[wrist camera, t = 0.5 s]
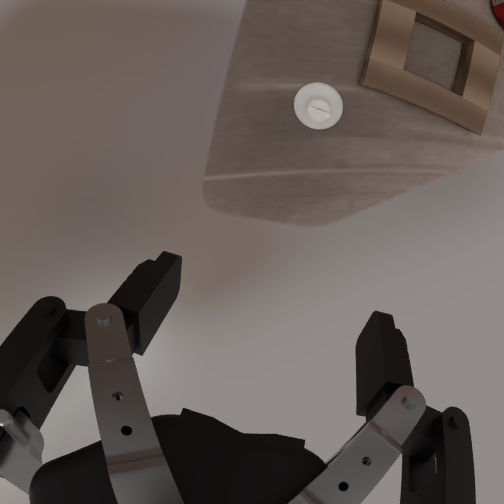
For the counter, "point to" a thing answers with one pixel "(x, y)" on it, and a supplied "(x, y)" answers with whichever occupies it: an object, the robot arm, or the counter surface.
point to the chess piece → (318, 105)
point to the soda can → (499, 10)
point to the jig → (419, 89)
